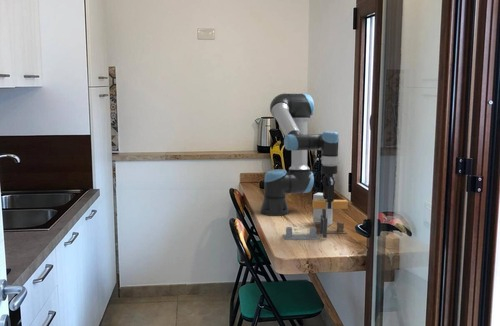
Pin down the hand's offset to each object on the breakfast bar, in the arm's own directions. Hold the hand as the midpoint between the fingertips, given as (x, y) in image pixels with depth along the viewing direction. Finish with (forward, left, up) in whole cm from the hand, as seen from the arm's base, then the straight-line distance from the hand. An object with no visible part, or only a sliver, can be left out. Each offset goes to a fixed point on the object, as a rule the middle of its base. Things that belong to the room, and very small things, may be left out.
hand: (327, 213), depth 243 cm
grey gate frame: (+9, -4, -9) cm, 13 cm away
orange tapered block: (0, +1, +3) cm, 3 cm away
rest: (0, +1, -9) cm, 9 cm away
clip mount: (+9, -14, -9) cm, 19 cm away
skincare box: (-14, +1, -9) cm, 17 cm away
